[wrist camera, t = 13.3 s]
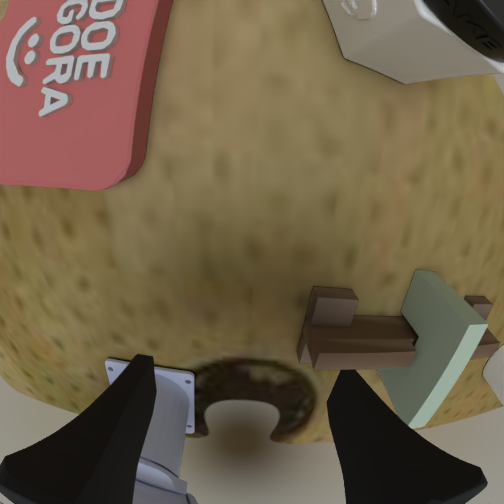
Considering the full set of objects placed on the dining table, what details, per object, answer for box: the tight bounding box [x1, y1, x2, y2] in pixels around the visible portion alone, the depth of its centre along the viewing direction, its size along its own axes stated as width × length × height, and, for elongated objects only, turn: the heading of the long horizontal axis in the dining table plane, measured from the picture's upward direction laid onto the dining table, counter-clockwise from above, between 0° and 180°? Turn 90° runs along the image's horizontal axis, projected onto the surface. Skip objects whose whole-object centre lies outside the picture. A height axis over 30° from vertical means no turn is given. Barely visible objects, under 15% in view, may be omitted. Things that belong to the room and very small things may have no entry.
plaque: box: [0, 0, 173, 191], centre depth 13 cm, size 18×4×15 cm
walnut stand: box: [297, 286, 500, 370], centre depth 21 cm, size 6×18×4 cm, turn 83°
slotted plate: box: [377, 270, 488, 429], centre depth 20 cm, size 10×2×8 cm, turn 173°
